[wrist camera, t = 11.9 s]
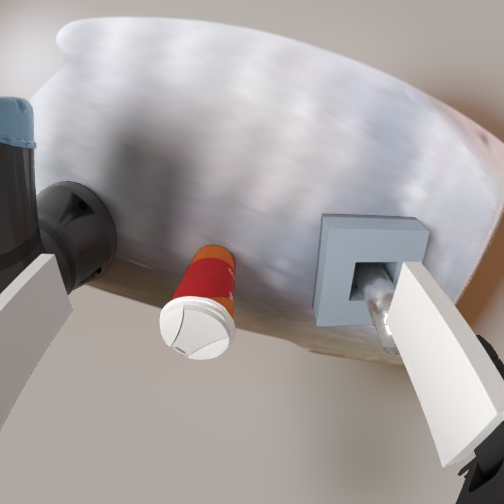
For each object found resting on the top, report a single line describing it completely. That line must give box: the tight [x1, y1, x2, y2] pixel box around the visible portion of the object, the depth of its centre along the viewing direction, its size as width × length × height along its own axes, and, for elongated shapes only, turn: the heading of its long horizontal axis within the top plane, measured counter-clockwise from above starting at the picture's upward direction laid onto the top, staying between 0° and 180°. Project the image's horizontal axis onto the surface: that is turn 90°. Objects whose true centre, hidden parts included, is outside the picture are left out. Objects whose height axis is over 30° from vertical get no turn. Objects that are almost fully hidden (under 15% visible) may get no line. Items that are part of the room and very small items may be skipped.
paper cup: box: [159, 245, 236, 360], centre depth 34 cm, size 8×8×14 cm
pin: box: [353, 262, 399, 354], centre depth 32 cm, size 4×4×14 cm
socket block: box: [312, 214, 430, 327], centre depth 37 cm, size 13×14×4 cm
